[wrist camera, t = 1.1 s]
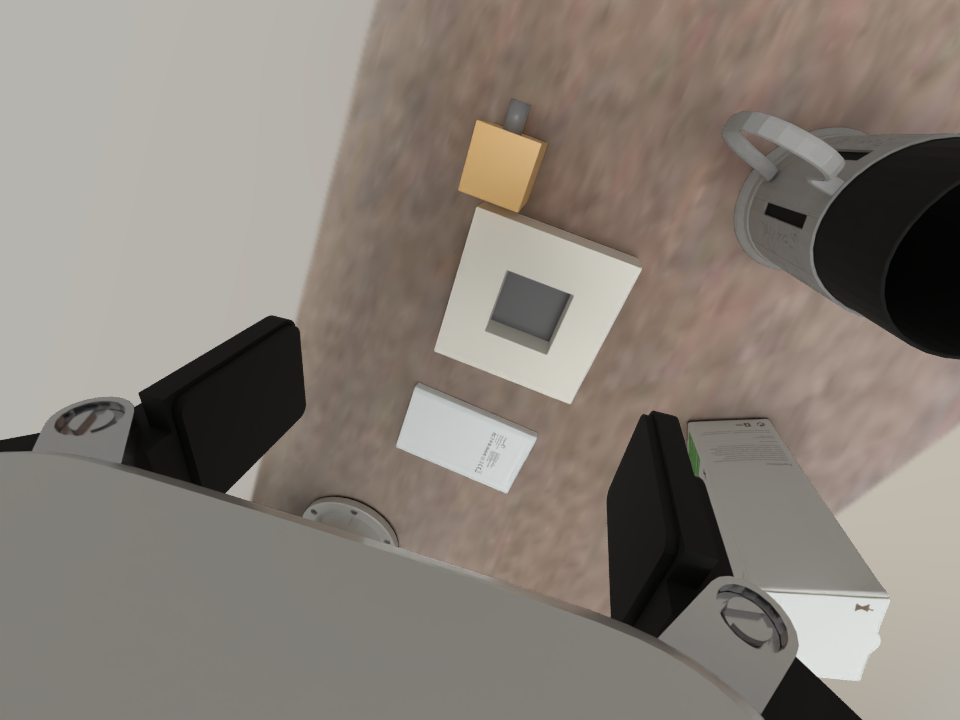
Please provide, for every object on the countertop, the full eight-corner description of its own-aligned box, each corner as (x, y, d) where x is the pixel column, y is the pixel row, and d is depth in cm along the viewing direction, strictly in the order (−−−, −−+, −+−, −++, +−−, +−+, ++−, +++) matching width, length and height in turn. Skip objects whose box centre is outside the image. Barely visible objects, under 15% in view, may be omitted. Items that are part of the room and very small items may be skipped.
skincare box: (687, 418, 36) (749, 584, 23) (775, 415, 34) (901, 594, 21) (685, 492, 40) (738, 675, 26) (765, 493, 38) (867, 690, 24)
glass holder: (810, 293, 30) (988, 412, 17) (637, 191, 29) (682, 232, 16) (931, 173, 25) (1300, 207, 12) (731, 50, 25) (896, -50, 12)
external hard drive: (420, 378, 41) (538, 429, 40) (400, 438, 45) (508, 485, 45) (414, 387, 39) (537, 440, 39) (394, 448, 44) (505, 496, 43)
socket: (571, 385, 37) (570, 404, 34) (444, 336, 37) (434, 351, 35) (637, 257, 31) (642, 268, 28) (485, 201, 31) (476, 206, 29)
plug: (527, 201, 31) (517, 212, 26) (477, 182, 31) (457, 190, 26) (557, 117, 28) (552, 112, 23) (501, 97, 28) (485, 88, 23)
